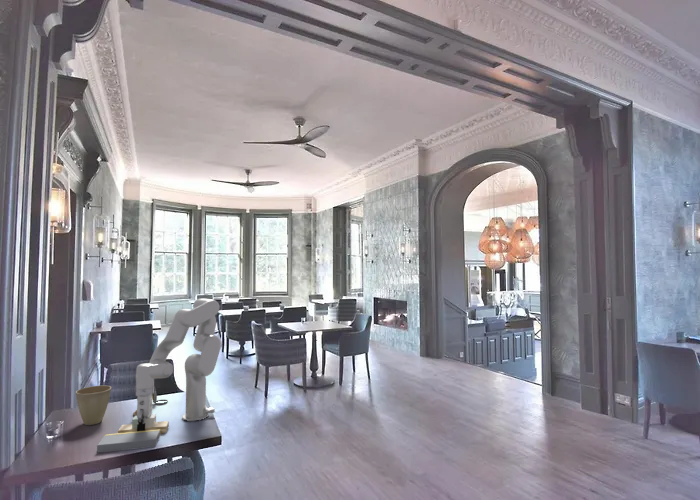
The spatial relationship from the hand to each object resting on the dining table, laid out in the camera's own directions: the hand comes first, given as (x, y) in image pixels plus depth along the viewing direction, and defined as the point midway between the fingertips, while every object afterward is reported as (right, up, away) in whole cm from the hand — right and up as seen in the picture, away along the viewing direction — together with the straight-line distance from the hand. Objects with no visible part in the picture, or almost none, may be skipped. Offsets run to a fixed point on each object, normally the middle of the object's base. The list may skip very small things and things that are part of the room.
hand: (143, 428), depth 189 cm
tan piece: (0, -2, 0) cm, 2 cm away
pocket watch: (-12, -4, +40) cm, 42 cm away
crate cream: (+3, +1, +1) cm, 3 cm away
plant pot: (-31, -2, +12) cm, 34 cm away
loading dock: (+1, -1, -13) cm, 13 cm away
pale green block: (-2, +1, 0) cm, 3 cm away
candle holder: (-12, -3, +24) cm, 27 cm away
